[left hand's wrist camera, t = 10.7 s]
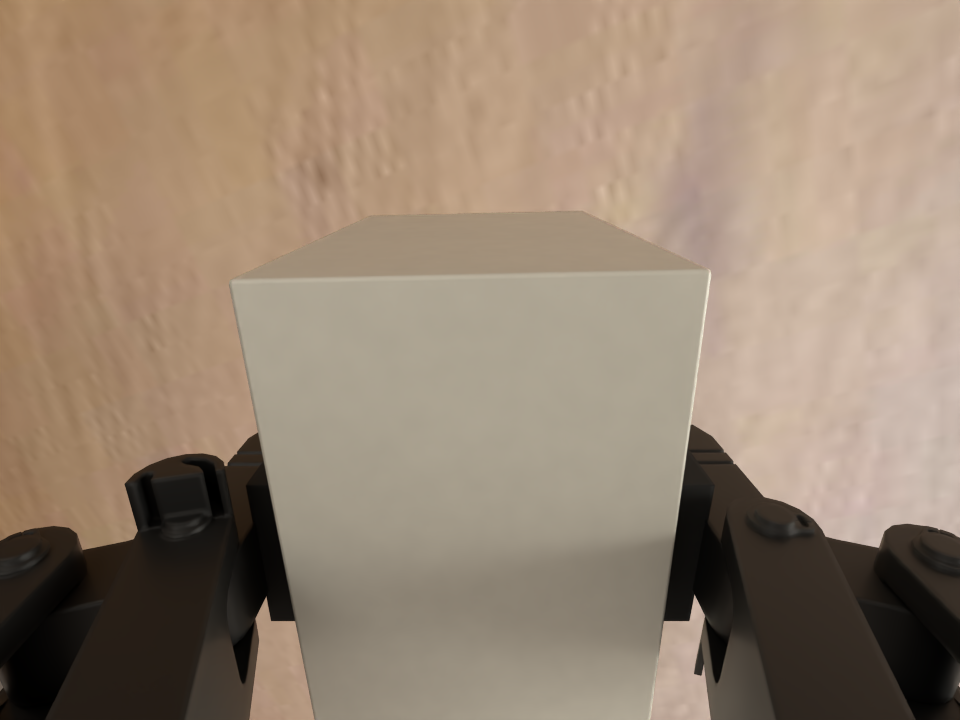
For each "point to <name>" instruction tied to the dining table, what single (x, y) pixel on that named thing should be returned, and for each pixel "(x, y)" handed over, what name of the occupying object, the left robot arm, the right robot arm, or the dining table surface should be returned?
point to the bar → (476, 459)
